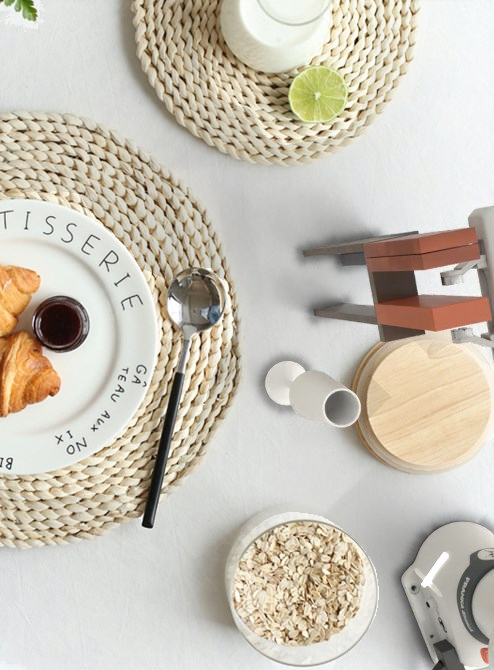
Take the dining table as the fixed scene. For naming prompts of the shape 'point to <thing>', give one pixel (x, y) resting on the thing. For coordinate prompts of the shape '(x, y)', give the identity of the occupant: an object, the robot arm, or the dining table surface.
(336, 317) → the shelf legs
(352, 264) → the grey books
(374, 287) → the shelf
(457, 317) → the terracotta book
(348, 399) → the champagne flute
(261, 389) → the dining table surface
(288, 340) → the dining table surface
